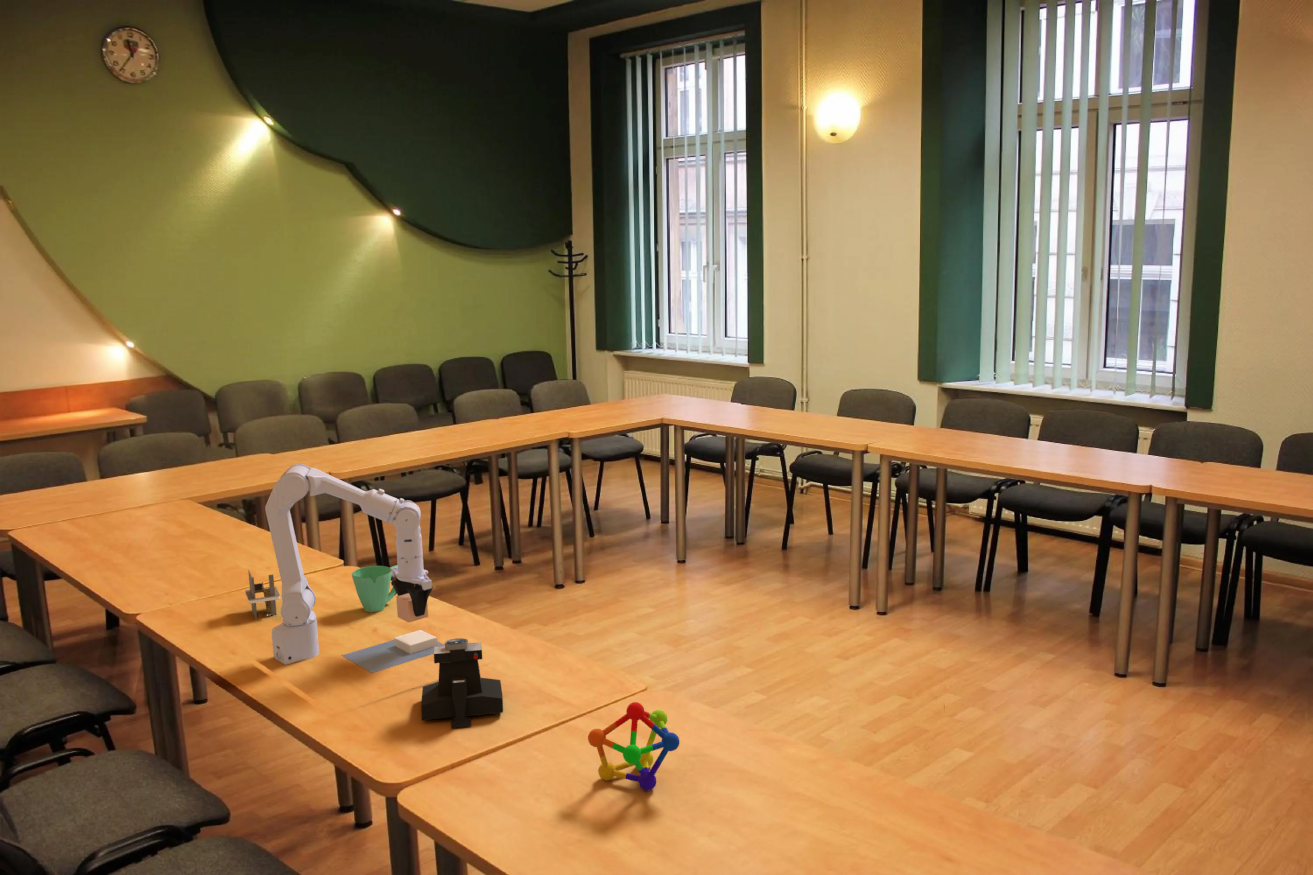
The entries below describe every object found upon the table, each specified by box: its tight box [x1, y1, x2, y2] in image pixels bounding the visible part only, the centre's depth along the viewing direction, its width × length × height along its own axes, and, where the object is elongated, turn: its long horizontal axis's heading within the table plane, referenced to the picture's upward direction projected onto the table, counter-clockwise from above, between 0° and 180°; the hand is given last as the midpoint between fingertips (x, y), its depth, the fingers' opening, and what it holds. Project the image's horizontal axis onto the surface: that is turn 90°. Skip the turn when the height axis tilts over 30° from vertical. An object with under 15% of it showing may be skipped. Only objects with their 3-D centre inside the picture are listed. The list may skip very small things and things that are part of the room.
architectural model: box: [244, 569, 281, 619], centre depth 277 cm, size 19×17×11 cm
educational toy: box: [587, 701, 680, 792], centre depth 189 cm, size 16×13×15 cm
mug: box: [351, 564, 398, 613], centre depth 280 cm, size 15×10×10 cm
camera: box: [420, 637, 504, 729], centre depth 218 cm, size 16×14×15 cm
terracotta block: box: [395, 593, 429, 623], centre depth 249 cm, size 5×5×5 cm
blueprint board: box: [341, 629, 445, 674], centre depth 248 cm, size 20×14×3 cm
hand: (413, 612), depth 250 cm, fingers closed on terracotta block, 5 cm apart
